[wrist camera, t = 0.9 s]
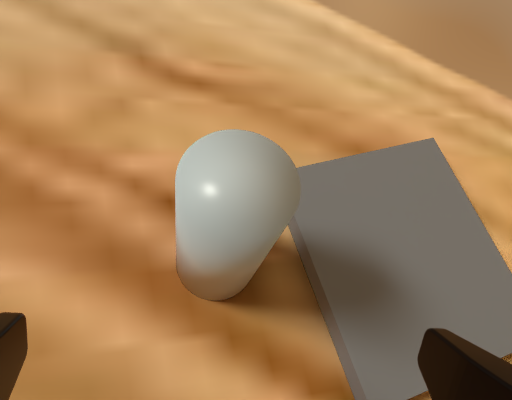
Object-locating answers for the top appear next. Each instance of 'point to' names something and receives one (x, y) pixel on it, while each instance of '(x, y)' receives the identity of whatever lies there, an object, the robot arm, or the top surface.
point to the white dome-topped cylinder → (230, 209)
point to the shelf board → (398, 264)
